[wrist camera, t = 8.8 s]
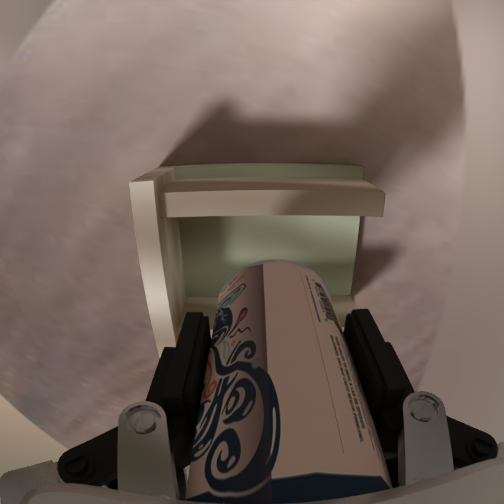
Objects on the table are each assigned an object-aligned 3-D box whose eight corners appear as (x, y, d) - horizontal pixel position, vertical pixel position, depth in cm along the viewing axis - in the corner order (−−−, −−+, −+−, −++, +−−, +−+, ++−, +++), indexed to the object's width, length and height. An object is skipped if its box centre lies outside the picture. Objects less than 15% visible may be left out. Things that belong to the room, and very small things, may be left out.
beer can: (221, 248, 12) (147, 618, 1) (339, 258, 13) (470, 576, 2) (216, 342, 14) (181, 610, 3) (316, 349, 15) (362, 603, 4)
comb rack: (329, 384, 25) (339, 428, 20) (189, 386, 25) (180, 429, 21) (359, 165, 18) (390, 180, 13) (158, 166, 18) (129, 182, 14)
